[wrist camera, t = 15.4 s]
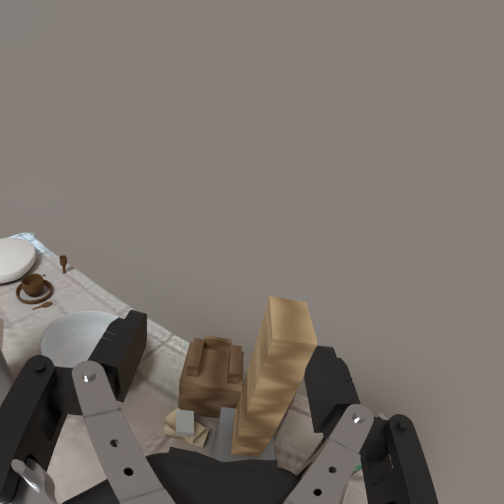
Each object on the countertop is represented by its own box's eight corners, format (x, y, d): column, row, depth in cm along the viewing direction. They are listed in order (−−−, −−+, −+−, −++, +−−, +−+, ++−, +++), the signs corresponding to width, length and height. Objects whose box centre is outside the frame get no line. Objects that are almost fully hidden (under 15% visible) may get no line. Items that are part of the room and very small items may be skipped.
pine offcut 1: (165, 423, 38) (164, 417, 38) (177, 413, 41) (177, 407, 40) (192, 444, 36) (193, 439, 35) (204, 433, 39) (205, 428, 38)
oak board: (230, 454, 30) (272, 338, 22) (233, 416, 37) (269, 296, 29) (259, 457, 30) (318, 344, 23) (259, 419, 37) (306, 302, 29)
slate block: (210, 478, 32) (215, 461, 29) (215, 430, 41) (221, 406, 38) (261, 483, 32) (275, 466, 29) (260, 436, 42) (272, 412, 39)
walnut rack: (178, 410, 43) (180, 370, 39) (187, 373, 52) (191, 331, 48) (233, 420, 44) (245, 382, 40) (235, 382, 53) (246, 341, 49)
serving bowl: (81, 424, 33) (71, 402, 31) (34, 353, 42) (26, 328, 40) (163, 374, 50) (163, 351, 48) (106, 323, 60) (104, 299, 57)
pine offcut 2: (163, 434, 38) (163, 429, 37) (170, 420, 41) (170, 414, 40) (202, 448, 37) (203, 443, 37) (208, 433, 41) (209, 428, 40)
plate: (27, 274, 59) (-42, 275, 44) (30, 292, 61) (-36, 293, 47) (40, 229, 79) (-18, 231, 64) (41, 245, 82) (-15, 247, 67)
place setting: (13, 284, 60) (9, 266, 57) (66, 270, 75) (65, 253, 73) (22, 316, 51) (17, 296, 49) (85, 297, 66) (83, 279, 64)
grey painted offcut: (176, 414, 39) (176, 409, 38) (193, 415, 40) (193, 411, 39) (175, 435, 35) (175, 431, 34) (193, 437, 36) (194, 433, 35)
